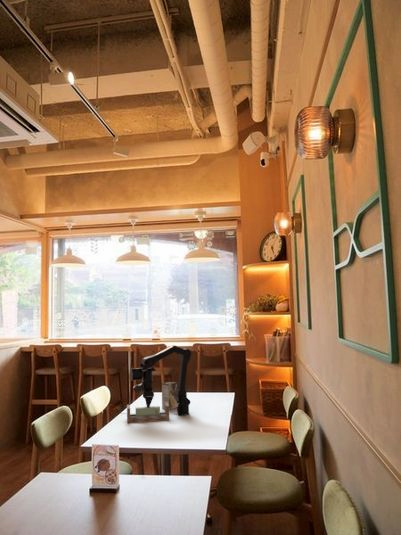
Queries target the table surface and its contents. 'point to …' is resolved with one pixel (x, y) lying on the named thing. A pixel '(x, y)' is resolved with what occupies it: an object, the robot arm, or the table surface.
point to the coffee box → (169, 394)
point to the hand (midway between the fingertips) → (147, 406)
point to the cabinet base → (162, 417)
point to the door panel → (147, 411)
